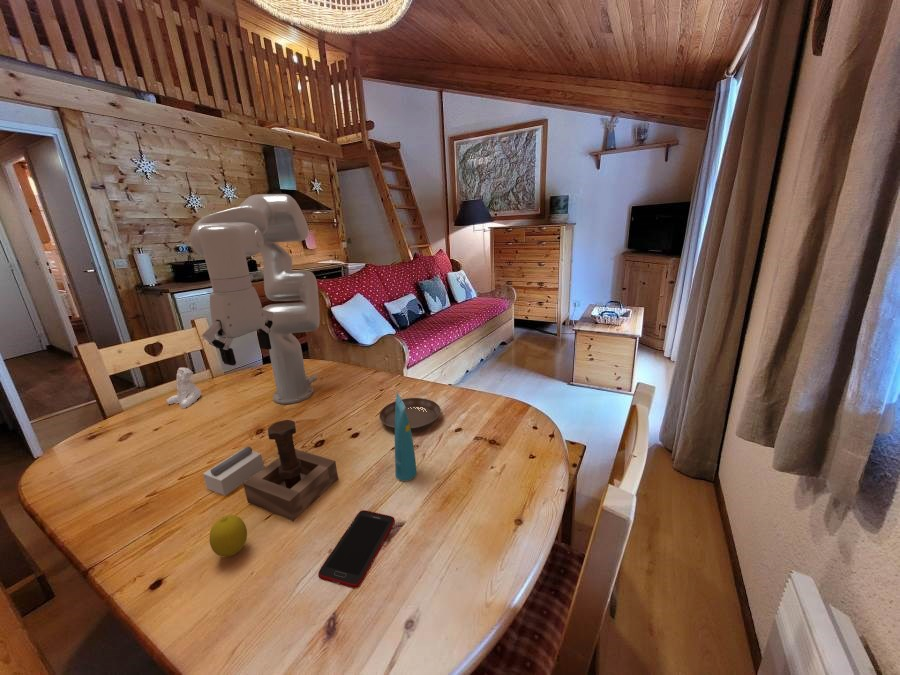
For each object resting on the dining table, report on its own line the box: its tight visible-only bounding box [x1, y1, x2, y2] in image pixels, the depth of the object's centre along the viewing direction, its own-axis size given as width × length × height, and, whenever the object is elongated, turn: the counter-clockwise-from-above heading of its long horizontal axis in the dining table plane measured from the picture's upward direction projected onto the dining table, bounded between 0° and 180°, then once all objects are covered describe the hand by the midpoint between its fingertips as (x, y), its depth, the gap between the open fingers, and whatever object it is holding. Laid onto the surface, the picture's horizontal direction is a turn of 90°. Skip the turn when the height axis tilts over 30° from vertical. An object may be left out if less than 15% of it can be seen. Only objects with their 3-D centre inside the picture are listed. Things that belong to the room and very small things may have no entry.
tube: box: [394, 392, 418, 482], centre depth 81 cm, size 7×5×19 cm, turn 26°
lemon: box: [209, 514, 248, 558], centre depth 64 cm, size 6×6×8 cm
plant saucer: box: [378, 397, 442, 434], centre depth 106 cm, size 18×18×3 cm
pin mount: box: [202, 445, 265, 497], centre depth 83 cm, size 10×6×6 cm, turn 156°
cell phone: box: [317, 509, 395, 589], centre depth 66 cm, size 8×15×1 cm, turn 163°
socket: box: [242, 448, 339, 522], centre depth 79 cm, size 13×13×5 cm
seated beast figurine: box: [166, 366, 202, 409], centre depth 120 cm, size 10×9×12 cm
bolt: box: [267, 419, 302, 489], centre depth 77 cm, size 6×5×15 cm
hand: (248, 356), depth 85 cm, fingers open, 9 cm apart
